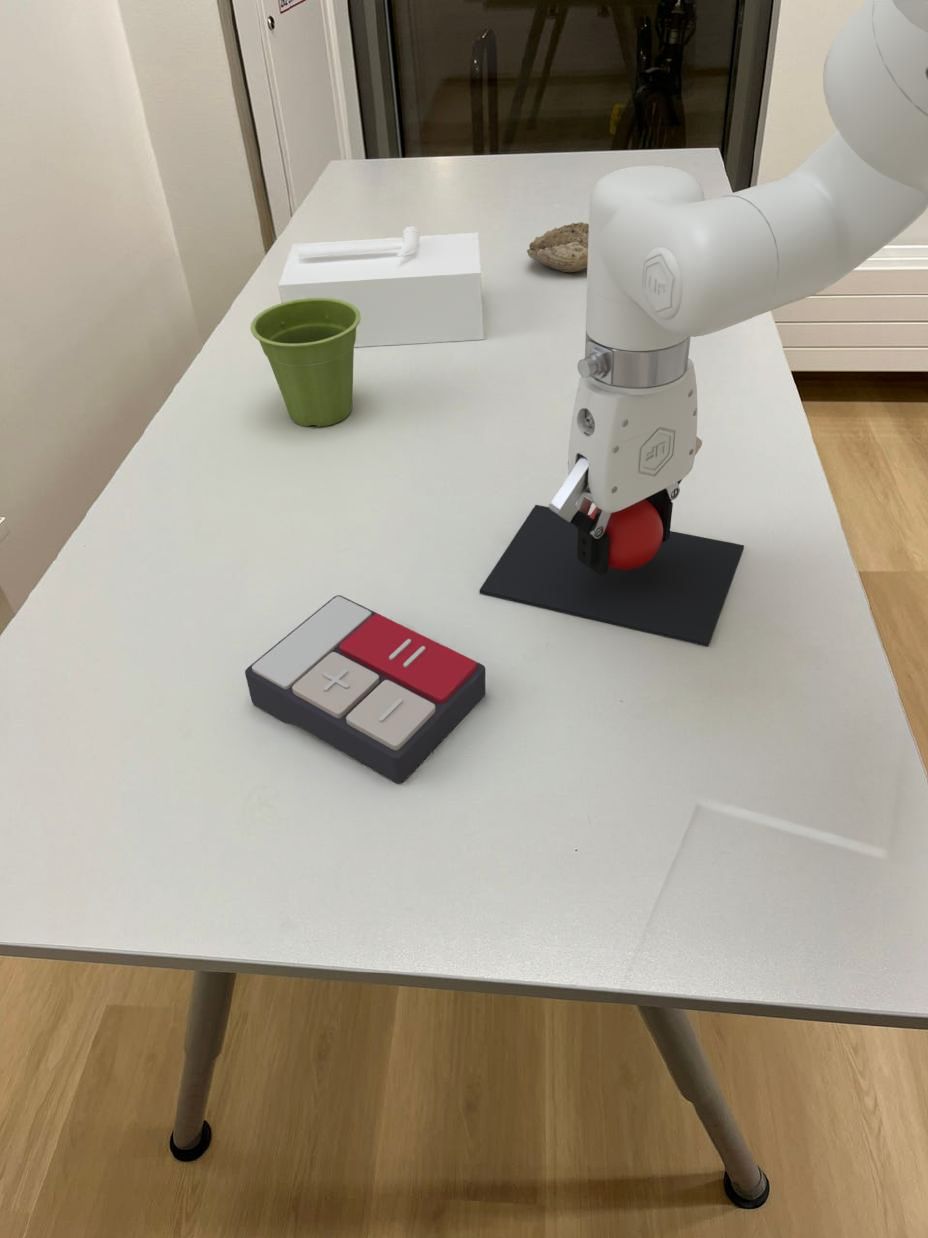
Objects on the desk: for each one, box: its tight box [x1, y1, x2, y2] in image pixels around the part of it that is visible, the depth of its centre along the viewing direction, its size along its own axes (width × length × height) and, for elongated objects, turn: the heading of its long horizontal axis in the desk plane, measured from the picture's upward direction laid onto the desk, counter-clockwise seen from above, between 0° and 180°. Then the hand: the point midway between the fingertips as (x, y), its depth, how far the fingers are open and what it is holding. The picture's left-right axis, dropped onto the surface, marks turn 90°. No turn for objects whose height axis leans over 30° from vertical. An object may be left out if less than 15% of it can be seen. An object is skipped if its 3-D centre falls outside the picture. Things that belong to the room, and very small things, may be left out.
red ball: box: [589, 499, 663, 570], centre depth 80 cm, size 6×6×6 cm
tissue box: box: [277, 226, 485, 348], centre depth 124 cm, size 14×25×11 cm, turn 91°
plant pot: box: [250, 298, 361, 427], centre depth 106 cm, size 12×12×11 cm
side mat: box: [479, 504, 745, 647], centre depth 84 cm, size 20×14×1 cm
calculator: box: [244, 594, 486, 784], centre depth 73 cm, size 11×4×15 cm
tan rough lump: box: [526, 221, 589, 273], centre depth 138 cm, size 11×7×10 cm
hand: (623, 548), depth 81 cm, fingers closed on red ball, 6 cm apart
